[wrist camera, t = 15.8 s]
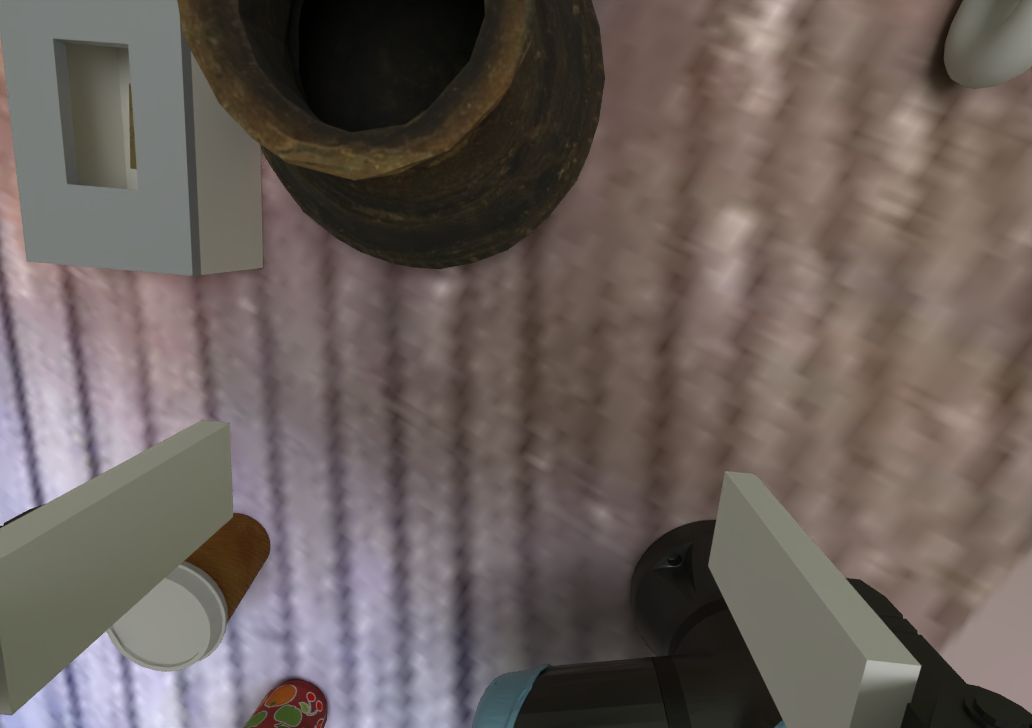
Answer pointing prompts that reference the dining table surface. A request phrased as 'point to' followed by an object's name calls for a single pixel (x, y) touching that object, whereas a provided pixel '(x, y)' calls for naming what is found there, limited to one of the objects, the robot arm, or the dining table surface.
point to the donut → (989, 42)
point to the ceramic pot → (411, 112)
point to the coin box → (125, 142)
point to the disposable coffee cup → (194, 600)
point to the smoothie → (291, 707)
